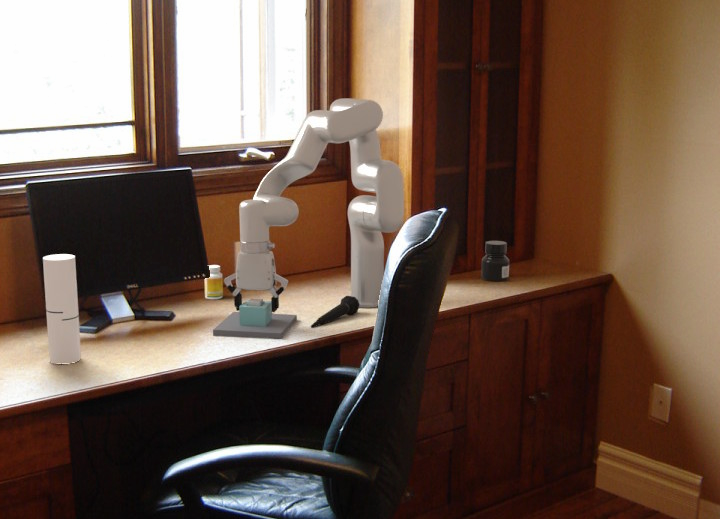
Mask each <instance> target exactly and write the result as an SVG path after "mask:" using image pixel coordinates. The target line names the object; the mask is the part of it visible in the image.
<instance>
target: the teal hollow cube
mask: <svg viewBox="0 0 720 519" xmlns="http://www.w3.org/2000/svg"><path fill="white" fill-rule="evenodd" d="M249 300H250V299H247V300H245V301H244V302H242V305H240V306H239V311H238V312H239V320H240V325H249V326H266V325H267V324H268V323H269V322H270V321H271V320H272V314H273V312H272V306H271V300H263V305H262V306H248V301H249Z"/></svg>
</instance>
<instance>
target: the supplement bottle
mask: <svg viewBox="0 0 720 519" xmlns="http://www.w3.org/2000/svg"><path fill="white" fill-rule="evenodd" d="M208 266H209V270H210V277H209V278H205V279H204V278H203V279H204V281H203V282H204V297H205V299H207V300H220V299H222V298H223V297H224V277H223V273H222V272H221V265H218V264H211V265H208Z"/></svg>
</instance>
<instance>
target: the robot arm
mask: <svg viewBox="0 0 720 519" xmlns="http://www.w3.org/2000/svg"><path fill="white" fill-rule="evenodd" d="M383 118H384V112H383V109H382V107H381V105H380V104H379V103H378V102H376V101H375V100H371V99H364V98H362V99H359V98H349V97H348V98H345V97H344V98H338V99H335V100H334V101H333V102H332V103H331V104H330V106H329V110H324V109H318V110H317V109H316V110H313V111H310V112H309V113H308V114H306V116H305V118H304V120H303V121H302V124H301V126H300V128H299V129H298V131H297V134H296V136H295V138H294V140H293V141H292V144H291V145H290V148H289V150H288V152H287V154H286V155H285V157H284V158H283V159H282V160H280V161H279V162H278V163H277V164H275V166H274V167H273V168H272V169H271V170H270V171H269V172H267V173H266V175H265V176H264V177H263V178H262V180H261V181H260V183H259V185H258V188H257V189H256V191H255V193H254V195H253V198H252V199H246V200H245V199H244V200H243V201H241V202H240V203H239V207H238V210H239V214H238V215H239V240H240V241H239V242H240V250H239V251H238V252H237V259H236V268H235V272H234V273H232V274H231V275H228V276H227V277H225V278H223V283H224V284H225V286H226V288H227V290H228V291H229V292H230V293H231V294H232V296H233V299H234V301H233V303H234V307H235V309H236V311H235V312H239V306H240V305H242V304H243V295H242V293H241V291H242V290H243V291H246V290H247V291H268V292H269V294H270V295H271V296H272V297H271V300H270V301H271V306H272V313H275V312H276V311H277V310H278V309H279V308H280V304H279V301H280V297H279V296H280V295H281V294H282V293H283V292H284V291H285V290H286V287H287V285H288V284H289V280H288V279H287V278H285V277H283V276H281V275H279V274H277V269H276V263H275V262H276V261H275V257H274V253H273V251H272V249H275V247H276V244H275V243H273V242H271V240H270V227H287V226H290V225H292V224H293V223H295V222H296V221H297V219H298V217H299V214H300V213H299V212H300V211H299V207H298V205H297V203H296V202H295V201H294V200H292V199H291V198H289V197H288V198H287V197H283V196H281V195H282V193H283V191H284V190H285V189H286V188H287V187H288V186H289V185H291V184H292V183H293V182H295V181H297V180H299V179H302V178H305V177H306V176H309V175H311V174H312V173H313V172H315V170H316V169H317V167H318V164H319V162H320V161H321V158H322V156H323V154H324V152H325V150H326V148H327V146H328V144H329V143H330V144H331V143H332V144H343V143H346V142H349V147H350V148H349V149H350V169H351V170H350V173H351V182H352V185H353V186H354V187H355V189H357V190H359V191H363V192H368V193H372V194H373V193H374V194H375V195H376V196H375V195H368V194H363V195H358V196H356V197H354V198H353V199H352V200H351V201H350V202H349V204H348V208H347V219H348V224H349V229H350V291H351V292H350V296H352V297H355V298H356V299H357V300H358V301H359V304H360V305H359V308H366V309H367V308H369V309H371V308H378V307H377V306H378V300H379V295H380V290H381V284H382V280H383V275H385V274H384V273H385V272H384V269H385V268H384V265H385V264H384V263H385V258H384V257H385V242H384V236H383V234H382V233H386V234H387V233H391V234H392V233H395V232H397V231H398V230H399V229H400V228H401V226H402V224H403V221H404V217H405V198H404V195H405V194H404V193H405V191H404V188H405V187H404V184H405V183H404V176H403V172H402V169H401V168H400V166H399V165H398V164H397V163H396V162H394V161H392V160H388V159H382V152H381V142H380V137H379V133H378V131H377V129H378V128H379V127H380V125H381V124H382V122H383ZM233 280H235V286H234V285H233V284H232V283H233V282H232V281H233ZM277 283H280V284H281V285H280V287H279V288H277V286H276V285H277Z"/></svg>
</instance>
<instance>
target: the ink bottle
mask: <svg viewBox="0 0 720 519" xmlns="http://www.w3.org/2000/svg"><path fill="white" fill-rule="evenodd" d="M484 245H485V247H484V250H485V251H484V252H485V253H484V254H485V255H484V256H483V257H482V258H481V272H480V273H481V275H480V276H481V279H482V280H483V281H488V282H504V281H508V280H509V277H510V276H509V275H510V259H509V258H508V257H507V256H506V254H507V248H508V244H507V242H506V241H501V240H489V241H485V244H484Z"/></svg>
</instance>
